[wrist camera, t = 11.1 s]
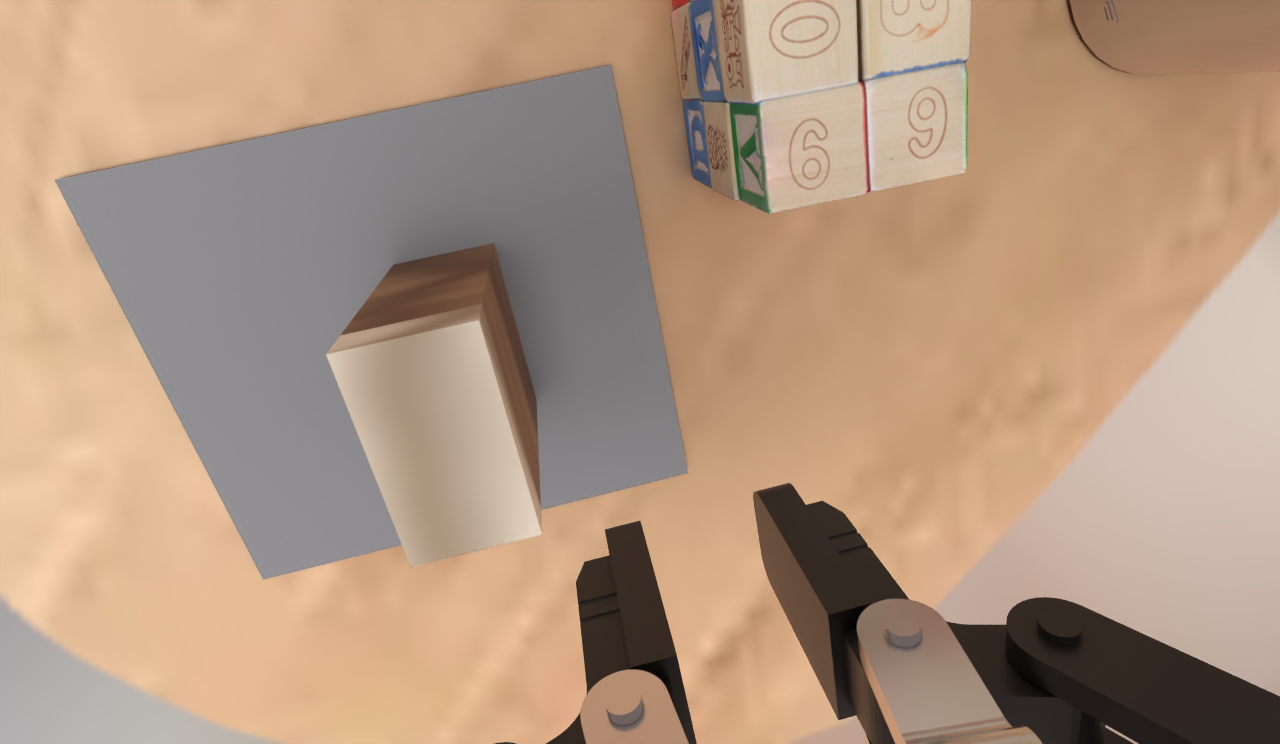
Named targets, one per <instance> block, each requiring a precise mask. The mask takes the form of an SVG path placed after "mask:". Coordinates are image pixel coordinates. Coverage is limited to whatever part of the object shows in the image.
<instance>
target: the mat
mask: <svg viewBox="0 0 1280 744" xmlns="http://www.w3.org/2000/svg"><path fill="white" fill-rule="evenodd" d="M55 182H56V184H57V185H58V187H59V189H60V191H61V193H62V195H63V197H64V199H65V201H66V203H67V205H68V207H69V208H70V210H71V212H72V214H73V216H74V218H75V220H76V222H77V224H78V226H79V228H80V229H81V231H82V233H83V235H84V237H85V239H86V241H87V243H88V245H89V247H90V249H91V251H92V252H93V254H94V256H95V258H96V260H97V262H98V264H99V266H100V268H101V270H102V272H103V274H104V275H105V277H106V279H107V281H108V283H109V285H110V287H111V289H112V291H113V293H114V295H115V297H116V298H117V300H118V302H119V304H120V306H121V308H122V310H123V312H124V314H125V316H126V318H127V320H128V321H129V323H130V325H131V327H132V329H133V331H134V333H135V335H136V337H137V339H138V341H139V343H140V344H141V346H142V348H143V350H144V352H145V354H146V356H147V358H148V360H149V362H150V364H151V366H152V367H153V369H154V371H155V373H156V375H157V377H158V379H159V381H160V383H161V385H162V387H163V388H164V390H165V392H166V394H167V396H168V398H169V400H170V402H171V404H172V406H173V408H174V410H175V411H176V413H177V415H178V417H179V419H180V421H181V423H182V425H183V427H184V429H185V431H186V433H187V434H188V436H189V438H190V440H191V442H192V444H193V446H194V448H195V450H196V452H197V454H198V456H199V457H200V459H201V461H202V463H203V465H204V467H205V469H206V471H207V473H208V475H209V477H210V479H211V480H212V482H213V484H214V486H215V488H216V490H217V492H218V494H219V496H220V498H221V500H222V502H223V503H224V505H225V507H226V509H227V511H228V513H229V515H230V517H231V519H232V521H233V523H234V524H235V526H236V528H237V530H238V532H239V534H240V536H241V538H242V540H243V542H244V544H245V546H246V547H247V549H248V551H249V553H250V555H251V557H252V559H253V561H254V563H255V565H256V567H257V569H258V570H259V572H260V574H261V576H262V578H263V579H267V578H271V577H275V576H279V575H283V574H287V573H291V572H295V571H299V570H303V569H307V568H311V567H315V566H319V565H323V564H327V563H331V562H335V561H339V560H343V559H347V558H351V557H355V556H359V555H363V554H367V553H371V552H375V551H379V550H383V549H387V548H391V547H395V546H399V545H402V544H401V541H400V539H399V536H398V534H397V531H396V529H395V526H394V524H393V521H392V519H391V516H390V514H389V511H388V509H387V506H386V504H385V501H384V499H383V496H382V494H381V491H380V489H379V486H378V484H377V481H376V479H375V476H374V474H373V471H372V469H371V466H370V464H369V461H368V459H367V456H366V454H365V451H364V449H363V446H362V444H361V441H360V439H359V436H358V434H357V431H356V428H355V426H354V423H353V421H352V418H351V416H350V413H349V411H348V408H347V406H346V403H345V401H344V398H343V396H342V393H341V391H340V388H339V386H338V383H337V381H336V378H335V376H334V373H333V371H332V368H331V366H330V363H329V361H328V358H327V356H326V354H327V352H328V351H329V350H330V348H331V347H332V346H333V344H334V343H335V342H336V340H337V339H338V338H339V336H340V335H341V334H342V332H343V331H344V330H345V328H346V327H347V326H348V324H349V323H350V322H351V320H352V319H353V318H354V316H355V315H356V314H357V312H358V311H359V310H360V308H361V307H362V306H363V304H364V303H365V302H366V300H367V299H368V298H369V296H370V295H371V294H372V292H373V291H374V290H375V288H376V287H377V286H378V284H379V283H380V282H381V280H382V279H383V278H384V276H385V275H386V274H387V272H388V271H389V270H390V268H391V267H392V266H393V265H394V264H399V263H403V262H408V261H413V260H417V259H422V258H426V257H431V256H436V255H440V254H445V253H450V252H454V251H459V250H463V249H468V248H473V247H477V246H482V245H487V244H491V243H494V245H495V249H496V252H497V256H498V260H499V263H500V267H501V271H502V274H503V278H504V282H505V285H506V289H507V293H508V296H509V300H510V304H511V307H512V311H513V315H514V318H515V322H516V326H517V329H518V333H519V337H520V340H521V344H522V348H523V351H524V355H525V359H526V362H527V366H528V370H529V373H530V377H531V381H532V385H533V388H534V392H535V396H536V399H537V424H538V448H539V472H540V496H541V510H542V509H546V508H550V507H554V506H558V505H562V504H566V503H570V502H574V501H578V500H582V499H586V498H590V497H594V496H598V495H602V494H606V493H610V492H614V491H618V490H622V489H626V488H630V487H634V486H638V485H642V484H646V483H650V482H654V481H658V480H662V479H666V478H670V477H674V476H678V475H682V474H686V473H688V470H687V465H686V460H685V455H684V449H683V444H682V439H681V433H680V428H679V423H678V417H677V412H676V407H675V402H674V396H673V391H672V386H671V380H670V375H669V370H668V365H667V359H666V354H665V349H664V343H663V338H662V333H661V327H660V322H659V317H658V312H657V306H656V301H655V296H654V290H653V285H652V280H651V275H650V269H649V264H648V259H647V253H646V248H645V243H644V237H643V232H642V227H641V222H640V216H639V211H638V206H637V200H636V195H635V190H634V185H633V179H632V174H631V169H630V163H629V158H628V153H627V147H626V142H625V137H624V132H623V126H622V121H621V116H620V110H619V105H618V100H617V95H616V89H615V84H614V79H613V73H612V68H611V65H607V66H603V67H598V68H593V69H588V70H583V71H578V72H574V73H569V74H564V75H559V76H554V77H549V78H545V79H540V80H535V81H530V82H525V83H520V84H516V85H511V86H506V87H501V88H496V89H491V90H487V91H482V92H477V93H472V94H467V95H462V96H458V97H453V98H448V99H443V100H438V101H433V102H429V103H424V104H419V105H414V106H409V107H404V108H400V109H395V110H390V111H385V112H380V113H375V114H371V115H366V116H361V117H356V118H351V119H346V120H342V121H337V122H332V123H327V124H322V125H317V126H313V127H308V128H303V129H298V130H293V131H288V132H284V133H279V134H274V135H269V136H264V137H259V138H255V139H250V140H245V141H240V142H235V143H230V144H226V145H221V146H216V147H211V148H206V149H201V150H197V151H192V152H187V153H182V154H177V155H172V156H168V157H163V158H158V159H153V160H148V161H143V162H139V163H134V164H129V165H124V166H119V167H114V168H109V169H105V170H100V171H95V172H90V173H85V174H80V175H76V176H71V177H66V178H61V179H56V180H55Z"/></svg>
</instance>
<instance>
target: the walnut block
mask: <svg viewBox="0 0 1280 744" xmlns="http://www.w3.org/2000/svg"><path fill="white" fill-rule="evenodd" d="M326 356H327V358H328V361H329V363H330V366H331V368H332V371H333V373H334V376H335V378H336V381H337V383H338V386H339V388H340V391H341V393H342V396H343V398H344V401H345V403H346V406H347V408H348V411H349V413H350V416H351V418H352V421H353V423H354V426H355V428H356V431H357V434H358V436H359V439H360V441H361V444H362V446H363V449H364V451H365V454H366V456H367V459H368V461H369V464H370V466H371V469H372V471H373V474H374V476H375V479H376V481H377V484H378V486H379V489H380V491H381V494H382V496H383V499H384V501H385V504H386V506H387V509H388V511H389V514H390V516H391V519H392V521H393V524H394V526H395V529H396V531H397V534H398V536H399V539H400V541H401V544H402V546H403V549H404V551H405V554H406V556H407V559H408V561H409V564H410V566H411V567H414V566H418V565H422V564H426V563H430V562H434V561H438V560H442V559H446V558H450V557H454V556H458V555H462V554H466V553H470V552H474V551H478V550H482V549H486V548H490V547H494V546H498V545H502V544H506V543H510V542H514V541H518V540H522V539H526V538H530V537H534V536H538V535H542V520H541V496H540V472H539V448H538V424H537V399H536V396H535V392H534V388H533V385H532V381H531V377H530V373H529V370H528V366H527V362H526V359H525V355H524V351H523V348H522V344H521V340H520V337H519V333H518V329H517V326H516V322H515V318H514V315H513V311H512V307H511V304H510V300H509V296H508V293H507V289H506V285H505V282H504V278H503V274H502V271H501V267H500V263H499V260H498V256H497V252H496V249H495V245H494V243H491V244H487V245H482V246H477V247H473V248H468V249H463V250H459V251H454V252H450V253H445V254H440V255H436V256H431V257H426V258H422V259H417V260H413V261H408V262H403V263H399V264H394V265H393V266H392V267H391V268H390V270H389V271H388V272H387V274H386V275H385V276H384V278H383V279H382V280H381V282H380V283H379V284H378V286H377V287H376V288H375V290H374V291H373V292H372V294H371V295H370V296H369V298H368V299H367V300H366V302H365V303H364V304H363V306H362V307H361V308H360V310H359V311H358V312H357V314H356V315H355V316H354V318H353V319H352V320H351V322H350V323H349V324H348V326H347V327H346V328H345V330H344V331H343V332H342V334H341V335H340V336H339V338H338V339H337V340H336V342H335V343H334V344H333V346H332V347H331V348H330V350H329V351H328V352H327V354H326Z"/></svg>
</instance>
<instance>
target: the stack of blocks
mask: <svg viewBox="0 0 1280 744" xmlns="http://www.w3.org/2000/svg"><path fill="white" fill-rule="evenodd" d="M672 4H673V8H674V11H673V12H672V14H671V21H672V29H673V37H674V45H675V54H676V62H677V69H678V77H679V85H680V92H681V97H682V100H683V108H684V117H685V125H686V133H687V140H688V148H689V155H690V162H691V170H692V175H693V178H694V179H696V180H698V181H700V182H701V183H703V184H705V185H707V186H708V187H710V188H713V190H715V191H717V192H719V193H721V194H722V195H724V196H726V197H729V198H731V199H733V200H737V201H738V200H741V201H742V202H744V203H746V204H749V205H751V206H753V207H755V208H758V209H760V210H762V211H765V212H767V213H769V214H771V213H776V212H781V211H786V210H791V209H796V208H801V207H806V206H811V205H816V204H820V203H825V202H830V201H836V200H841V199H846V198H851V197H856V196H861V195H865V194H866V193H867V192H871V191H877V190H882V189H888V188H893V187H899V186H904V185H909V184H914V183H918V182H922V181H927V180H933V179H938V178H942V177H948V176H953V175H957V174H962V173H965V171H966V166H967V103H968V88H967V77H968V74H967V70H966V65H965V62H966V61H967V59H968V58H969V54H970V20H971V0H672Z"/></svg>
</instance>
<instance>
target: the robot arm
mask: <svg viewBox="0 0 1280 744" xmlns="http://www.w3.org/2000/svg"><path fill="white" fill-rule="evenodd" d="M1070 4H1071V9H1072V13H1073V17H1074V22H1075V24H1076V26H1077V28H1078V30H1079V32H1080V34H1081V36H1082V38H1083V40H1084V42H1085V43H1086V44H1087V46H1088V47H1089V48H1090V49H1091V50H1092V51H1093V53H1094V54H1095V55H1096V56H1097V57H1098V58H1099V59H1101V60H1102V61H1104V62H1105V63H1107V64H1108V65H1110V66H1111V67H1113V68H1115V69H1118V70H1122V71H1125V72H1128V73H1132V74H1180V73H1242V72H1280V0H1070ZM753 499H754V507H755V514H756V521H757V527H758V534H759V541H760V548H761V554H762V559H763V563H764V567H765V570H766V573H767V576H768V579H769V581H770V584H771V586H772V588H773V590H774V592H775V594H776V596H777V598H778V600H779V602H780V604H781V606H782V608H783V610H784V612H785V614H786V616H787V618H788V620H789V622H790V624H791V626H792V628H793V630H794V632H795V634H796V636H797V638H798V640H799V642H800V644H801V646H802V648H803V650H804V652H805V654H806V656H807V658H808V660H809V662H810V664H811V666H812V668H813V670H814V672H815V674H816V676H817V678H818V680H819V682H820V684H821V686H822V688H823V690H824V692H825V694H826V696H827V698H828V700H829V702H830V704H831V706H832V708H833V710H834V712H835V714H836V716H837V718H838V720H841V719H845V718H848V717H852V716H855V715H856V716H857V717H858V719H859V721H860V723H861V725H862V727H863V729H864V731H865V737H866V744H1133V743H1132V742H1130V741H1128V740H1126V739H1125V738H1123V737H1121V736H1119V735H1118V734H1116V733H1114V732H1112V731H1111V730H1109V729H1107V728H1105V726H1106V725H1108V726H1109V727H1111V728H1113V729H1114V730H1116V731H1118V732H1120V733H1122V734H1123V735H1125V736H1127V737H1129V738H1130V739H1132V740H1134V741H1135V742H1137V743H1139V744H1280V696H1277V695H1275V694H1273V693H1271V692H1269V691H1266V690H1264V689H1262V688H1260V687H1258V686H1256V685H1253V684H1251V683H1249V682H1247V681H1245V680H1243V679H1240V678H1238V677H1236V676H1234V675H1232V674H1229V673H1227V672H1225V671H1222V670H1221V669H1218V668H1216V667H1214V666H1212V665H1210V664H1208V663H1205V662H1203V661H1201V660H1199V659H1197V658H1195V657H1192V656H1190V655H1188V654H1186V653H1184V652H1181V651H1179V650H1177V649H1175V648H1173V647H1170V646H1168V645H1166V644H1164V643H1162V642H1160V641H1157V640H1155V639H1153V638H1151V637H1149V636H1146V635H1144V634H1142V633H1140V632H1137V631H1136V630H1133V629H1131V628H1129V627H1127V626H1125V625H1122V624H1120V623H1118V622H1115V621H1114V620H1112V619H1109V618H1107V617H1105V616H1103V615H1101V614H1098V613H1096V612H1094V611H1092V610H1090V609H1087V608H1085V607H1083V606H1081V605H1078V604H1076V603H1073V602H1069V601H1066V600H1062V599H1057V598H1047V597H1045V598H1033V599H1028V600H1025V601H1022V602H1020V603H1018V604H1017V605H1016V606H1014V607H1013V608H1012V609H1011V610H1010V612H1009V614H1008V616H1007V623H1006V625H963V624H956V623H950V622H947V621H945V620H944V618H943V617H942V616H941V615H940V614H939V613H938V612H936V611H935V610H933V609H932V608H930V607H928V606H927V605H925V604H922V603H919V602H917V601H913V600H909V598H908V597H907V596H906V595H905V593H904V592H903V591H902V589H901V588H900V587H899V585H898V584H897V583H896V581H895V580H894V579H893V577H892V576H891V575H890V573H889V572H888V571H887V569H886V568H885V567H884V565H883V564H882V563H881V562H880V560H879V559H878V558H877V556H876V555H875V554H874V552H873V551H872V550H871V548H868V546H867V543H866V542H865V540H864V539H863V538H862V536H861V535H860V534H858V533H857V530H856V528H855V527H854V526H853V525H852V523H851V522H850V521H849V519H848V518H847V517H846V515H845V514H844V513H843V512H841V511H839V510H838V509H836V508H834V507H832V506H831V505H829V504H827V503H825V502H824V501H820V502H816V503H812V504H808V505H805V503H804V502H803V500H802V499H801V497H800V496H799V494H798V493H797V491H796V490H795V488H794V487H793V486H792V485H791V484H790V483H787V484H783V485H779V486H775V487H771V488H767V489H763V490H759V491H756V492H754V494H753ZM605 532H606V538H607V543H608V549H609V554H610V555H609V556H605V557H602V558H598V559H594V560H590V561H586V562H584V565H583V567H582V569H581V572H580V574H579V576H578V579H577V581H576V587H577V597H578V604H579V616H580V622H581V624H580V625H581V634H582V644H583V653H584V663H585V672H586V682H587V695H586V697H585V699H584V701H583V704H582V707H581V712H580V714H579V715H578V717H577V718H576V719H575V721H574V722H573V723H572V724H571V725H570V726H569V727H568V728H567V729H566V730H565V731H564V732H563V733H562V734H560V735H559V736H557V737H556V738H554V739H553V740H551V741H549V742H548V743H546V744H697V743H696V739H695V734H694V730H693V726H692V721H691V717H690V712H689V708H688V703H687V699H686V694H685V690H684V686H683V681H682V677H681V672H680V668H679V663H678V659H677V655H676V651H675V647H674V644H673V640H672V636H671V632H670V629H669V625H668V621H667V618H666V614H665V610H664V607H663V603H662V599H661V595H660V592H659V588H658V584H657V581H656V577H655V573H654V570H653V566H652V562H651V559H650V555H649V551H648V547H647V544H646V540H645V536H644V533H643V529H642V525H641V522H640V521H637V522H633V523H629V524H625V525H621V526H617V527H613V528H609V529H605ZM495 744H515V743H509V742H503V743H495Z"/></svg>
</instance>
